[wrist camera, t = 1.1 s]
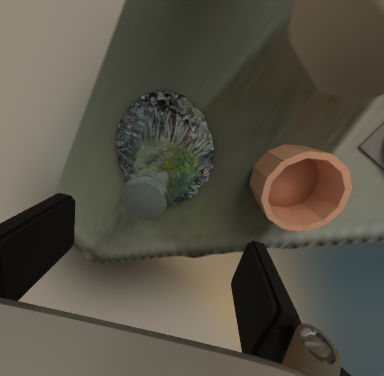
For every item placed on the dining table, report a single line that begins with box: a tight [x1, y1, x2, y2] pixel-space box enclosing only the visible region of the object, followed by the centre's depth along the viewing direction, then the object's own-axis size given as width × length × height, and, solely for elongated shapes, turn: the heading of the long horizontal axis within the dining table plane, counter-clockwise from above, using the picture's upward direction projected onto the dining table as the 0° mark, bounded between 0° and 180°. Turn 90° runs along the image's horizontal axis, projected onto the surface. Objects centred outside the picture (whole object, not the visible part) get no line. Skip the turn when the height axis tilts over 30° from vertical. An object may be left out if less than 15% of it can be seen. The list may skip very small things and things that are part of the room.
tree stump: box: [116, 91, 214, 220], centre depth 31 cm, size 18×20×18 cm
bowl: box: [250, 144, 352, 232], centre depth 33 cm, size 13×13×8 cm
